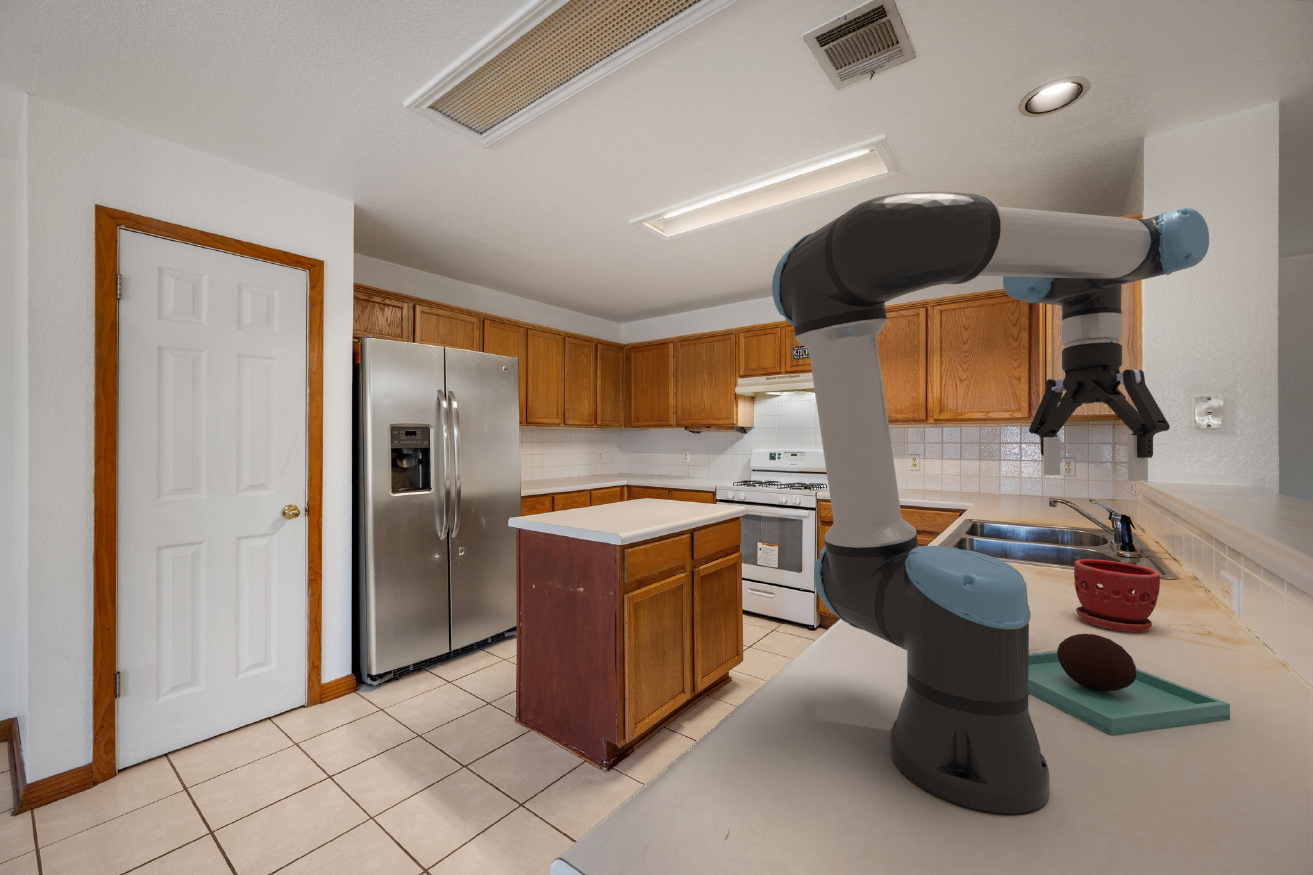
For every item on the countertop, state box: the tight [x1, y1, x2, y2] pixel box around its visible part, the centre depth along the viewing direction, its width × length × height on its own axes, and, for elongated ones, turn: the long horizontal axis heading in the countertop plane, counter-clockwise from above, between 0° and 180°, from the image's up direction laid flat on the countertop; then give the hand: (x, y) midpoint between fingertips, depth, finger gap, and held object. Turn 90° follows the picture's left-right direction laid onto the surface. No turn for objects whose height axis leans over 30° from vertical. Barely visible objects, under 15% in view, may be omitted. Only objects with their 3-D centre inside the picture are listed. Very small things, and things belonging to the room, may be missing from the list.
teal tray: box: [1028, 650, 1231, 736], centre depth 78 cm, size 20×20×2 cm
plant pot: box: [1073, 558, 1161, 633], centre depth 108 cm, size 13×13×12 cm
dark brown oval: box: [1056, 633, 1137, 691], centre depth 78 cm, size 8×9×8 cm
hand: (1091, 477), depth 86 cm, fingers open, 13 cm apart
